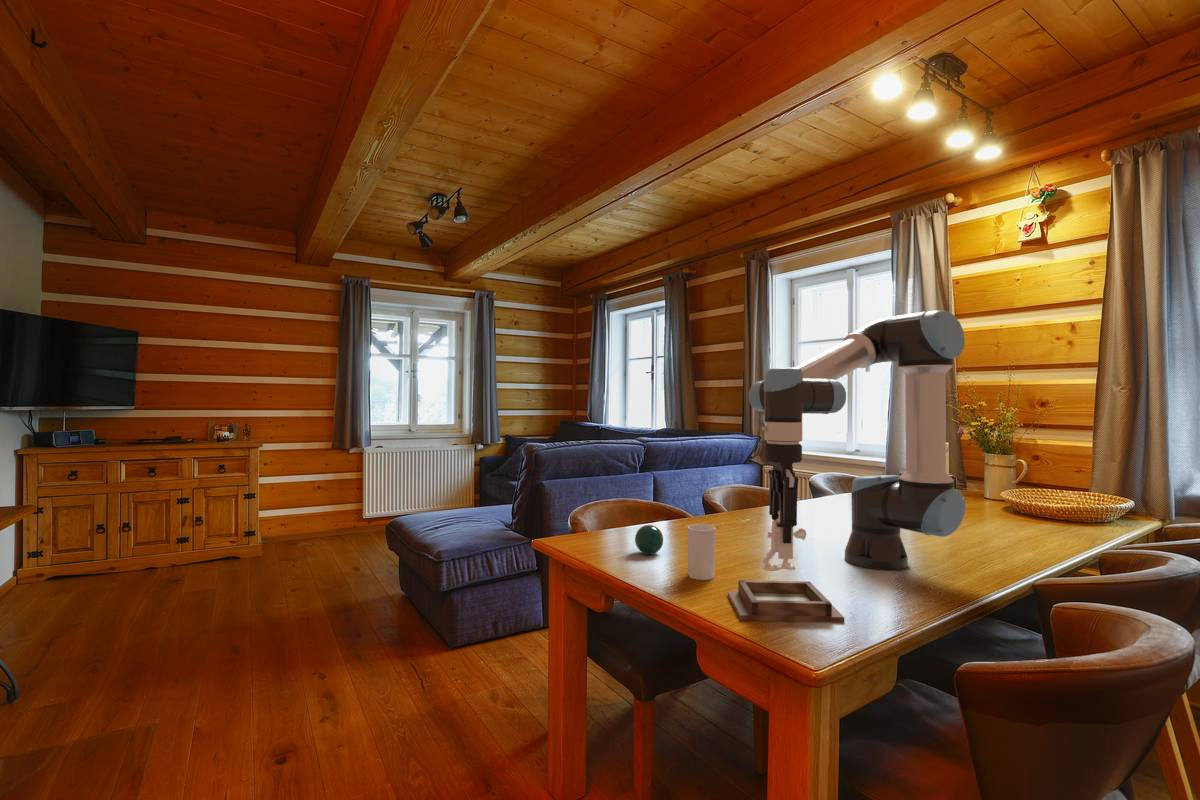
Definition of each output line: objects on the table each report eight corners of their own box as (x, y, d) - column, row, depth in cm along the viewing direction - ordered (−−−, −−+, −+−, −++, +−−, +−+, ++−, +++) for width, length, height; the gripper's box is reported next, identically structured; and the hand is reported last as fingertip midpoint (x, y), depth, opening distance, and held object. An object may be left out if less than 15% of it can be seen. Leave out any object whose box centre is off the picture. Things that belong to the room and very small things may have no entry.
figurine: (756, 566, 118) (757, 509, 118) (791, 561, 122) (792, 506, 121) (772, 573, 114) (772, 513, 113) (807, 568, 117) (808, 510, 117)
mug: (717, 581, 135) (717, 530, 135) (688, 580, 136) (688, 530, 135) (711, 568, 145) (711, 521, 145) (685, 567, 146) (685, 521, 146)
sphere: (629, 554, 158) (629, 526, 158) (644, 548, 164) (644, 520, 164) (654, 559, 153) (654, 529, 153) (668, 552, 160) (668, 524, 160)
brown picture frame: (819, 597, 124) (819, 581, 124) (844, 622, 110) (844, 604, 110) (727, 595, 125) (727, 579, 125) (740, 620, 111) (740, 602, 111)
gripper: (755, 439, 126) (754, 544, 126) (775, 445, 109) (774, 567, 109) (789, 439, 126) (788, 544, 126) (815, 446, 109) (814, 567, 109)
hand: (782, 554), depth 118 cm, fingers closed on figurine, 4 cm apart
